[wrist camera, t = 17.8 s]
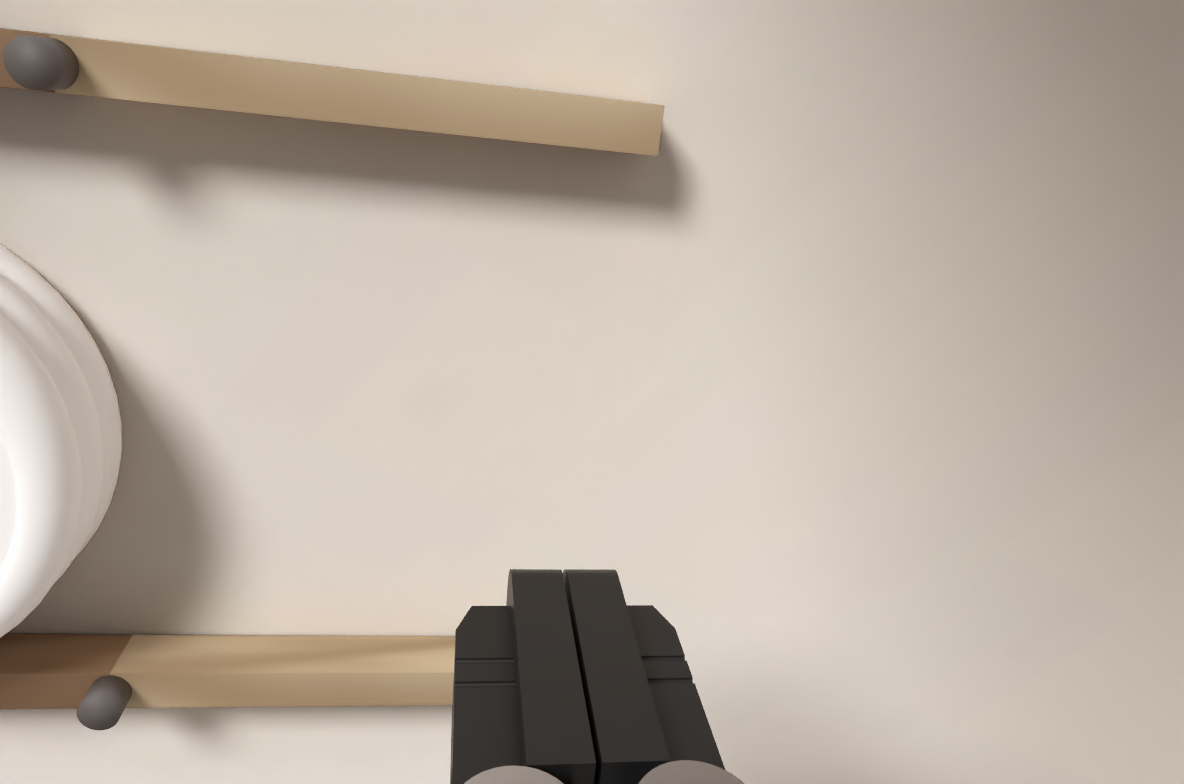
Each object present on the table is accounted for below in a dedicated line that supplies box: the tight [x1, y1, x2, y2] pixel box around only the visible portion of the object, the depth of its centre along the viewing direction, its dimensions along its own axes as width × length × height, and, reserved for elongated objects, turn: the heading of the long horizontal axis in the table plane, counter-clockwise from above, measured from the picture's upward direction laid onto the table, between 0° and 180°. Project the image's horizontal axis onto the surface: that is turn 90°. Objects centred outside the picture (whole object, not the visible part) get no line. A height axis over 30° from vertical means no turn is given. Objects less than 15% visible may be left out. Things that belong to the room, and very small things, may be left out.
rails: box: [0, 28, 664, 730], centre depth 18 cm, size 15×24×2 cm, turn 85°
